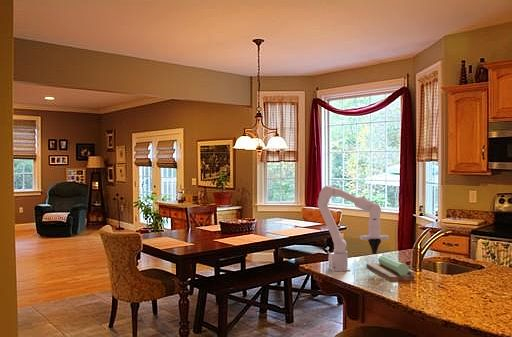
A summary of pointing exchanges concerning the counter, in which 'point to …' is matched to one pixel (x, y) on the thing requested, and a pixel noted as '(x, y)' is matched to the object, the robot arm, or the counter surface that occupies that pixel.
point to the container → (394, 265)
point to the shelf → (390, 273)
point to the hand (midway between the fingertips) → (374, 253)
